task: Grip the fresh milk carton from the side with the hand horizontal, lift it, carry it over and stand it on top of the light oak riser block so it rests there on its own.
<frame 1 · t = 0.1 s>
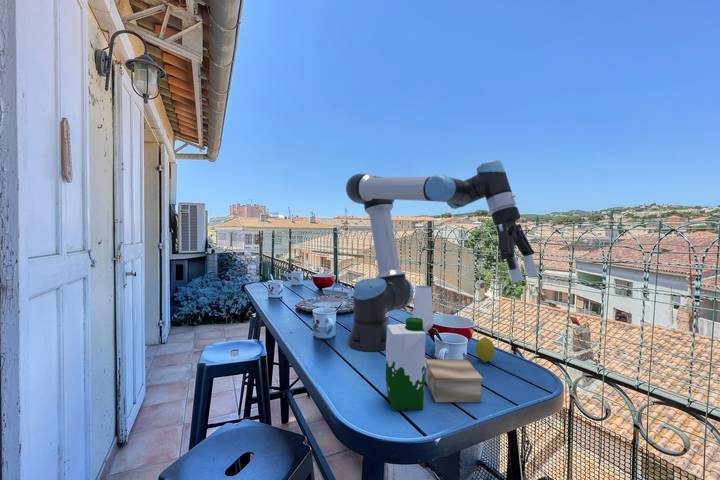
hand: (526, 278, 95), 28 cm above the table, tool tilted 20°, fingers open, 13 cm apart
oak riser: (451, 391, 85), on the table
fresh milk carton: (404, 403, 79), on the table
champagne flute: (422, 363, 103), on the table
lemon: (484, 363, 104), on the table
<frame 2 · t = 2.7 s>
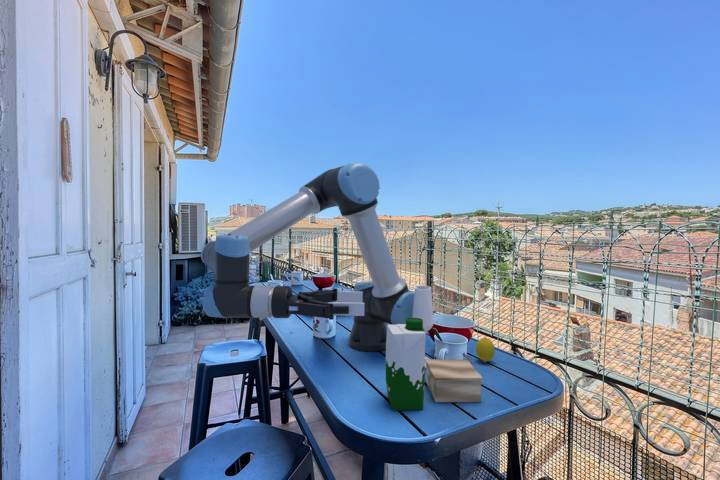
hand: (363, 302, 78), 24 cm above the table, tool horizontal, fingers open, 13 cm apart
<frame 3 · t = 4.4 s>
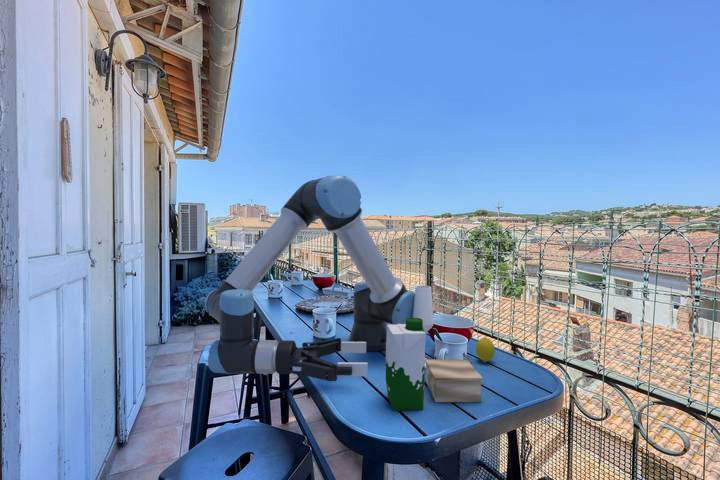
hand: (367, 357, 78), 11 cm above the table, tool horizontal, fingers open, 13 cm apart
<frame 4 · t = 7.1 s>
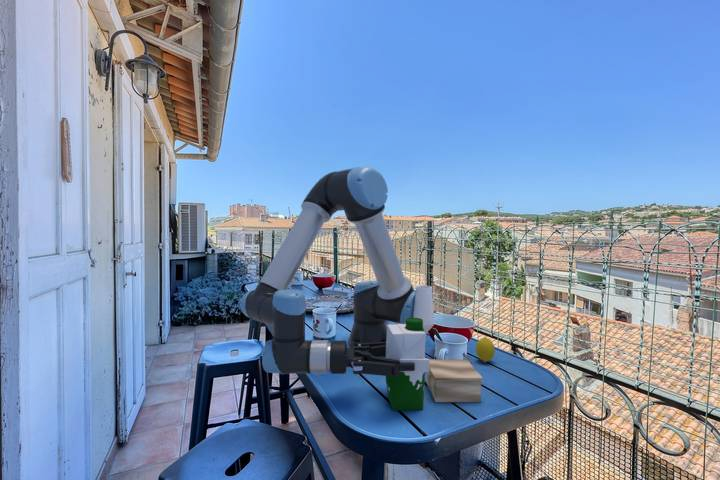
hand: (424, 357, 79), 11 cm above the table, tool horizontal, fingers closed on fresh milk carton, 9 cm apart
fresh milk carton: (404, 403, 79), on the table, touching gripper
champagne flute: (422, 363, 103), on the table, touching arm
everything else where it was.
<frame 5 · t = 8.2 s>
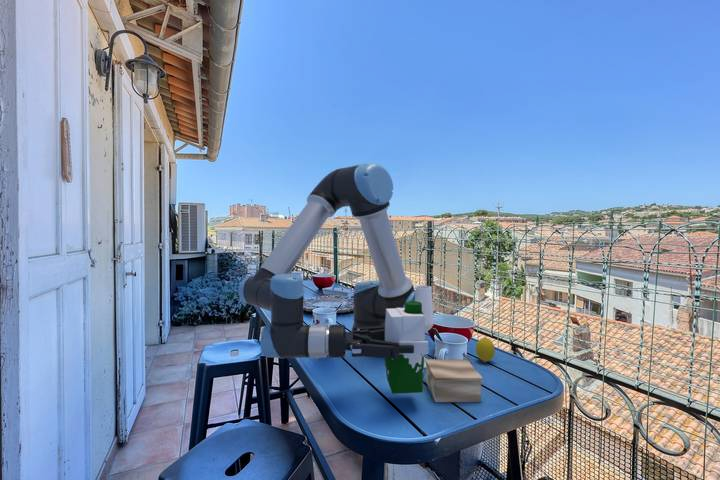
hand: (423, 340, 78), 15 cm above the table, tool horizontal, fingers closed on fresh milk carton, 9 cm apart
fresh milk carton: (403, 386, 79), point 4 cm above the table, touching gripper
champagne flute: (422, 363, 103), on the table
everything else where it was.
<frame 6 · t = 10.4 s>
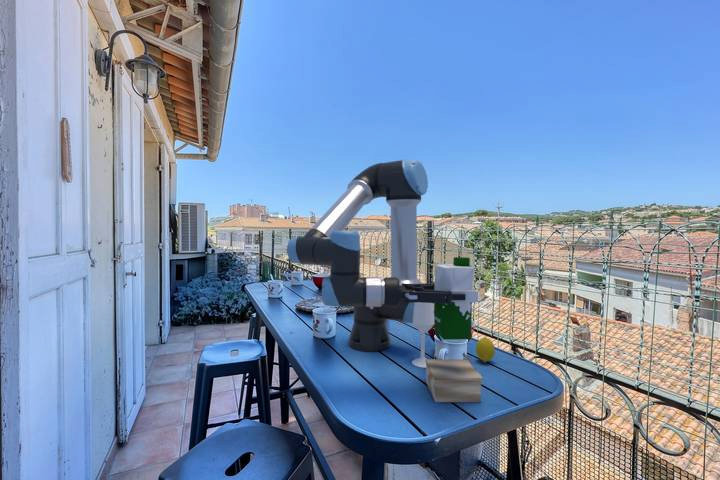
hand: (471, 292, 84), 26 cm above the table, tool horizontal, fingers closed on fresh milk carton, 9 cm apart
fresh milk carton: (452, 336, 85), point 14 cm above the table, touching gripper
everything else where it was.
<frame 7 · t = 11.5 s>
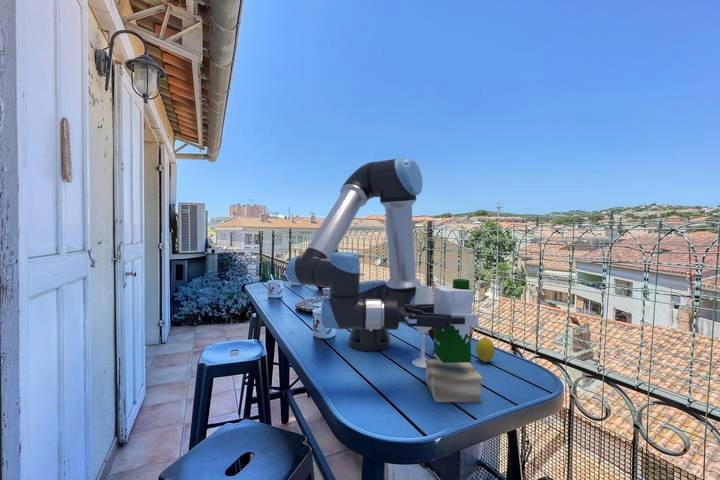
hand: (470, 315, 84), 20 cm above the table, tool horizontal, fingers closed on fresh milk carton, 9 cm apart
fresh milk carton: (451, 358, 85), point 9 cm above the table, touching gripper
champagne flute: (422, 363, 103), on the table, touching arm
everything else where it was.
when the fingers open (18 cm above the table, at t = 12.5 s): fresh milk carton stays where it is, resting on oak riser.
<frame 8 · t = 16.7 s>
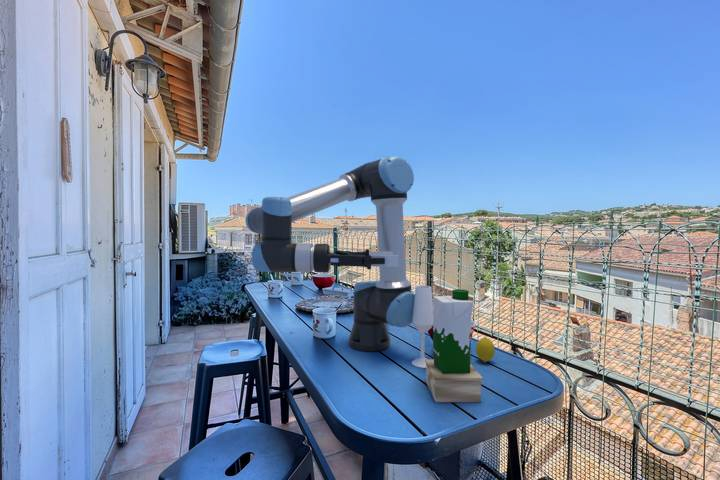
hand: (395, 258, 86), 34 cm above the table, tool horizontal, fingers open, 13 cm apart
fresh milk carton: (451, 368, 85), point 6 cm above the table, touching oak riser
everything else where it was.
at the end: fresh milk carton inside the target area on the oak riser (0.2 cm from its centre), point 5.8 cm above the oak riser's base; fresh milk carton tilted 0°; the gripper is holding nothing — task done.
